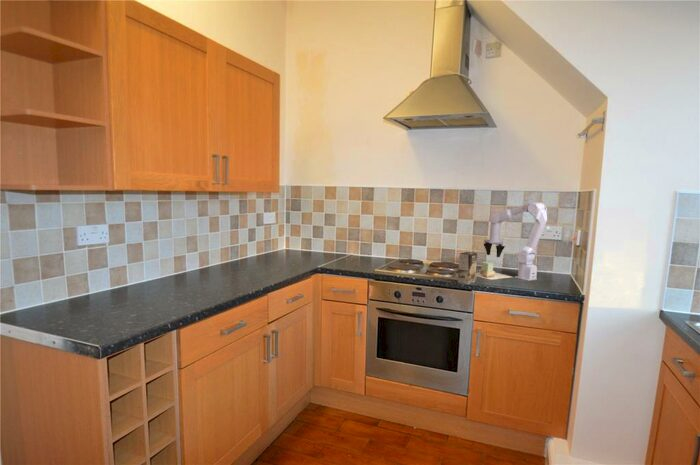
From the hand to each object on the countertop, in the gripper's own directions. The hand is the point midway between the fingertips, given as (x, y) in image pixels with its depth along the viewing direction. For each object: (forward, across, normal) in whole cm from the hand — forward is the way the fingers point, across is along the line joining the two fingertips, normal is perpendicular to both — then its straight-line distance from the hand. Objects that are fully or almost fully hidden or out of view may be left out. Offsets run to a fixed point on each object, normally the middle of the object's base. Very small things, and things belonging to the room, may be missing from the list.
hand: (493, 256), depth 248 cm
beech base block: (+10, +9, -15) cm, 20 cm away
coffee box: (+10, +14, -36) cm, 40 cm away
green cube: (+6, +9, -15) cm, 18 cm away
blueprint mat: (+10, +8, -10) cm, 16 cm away
